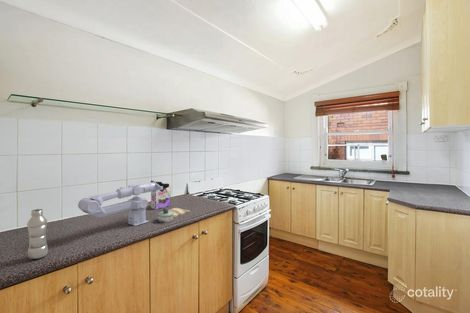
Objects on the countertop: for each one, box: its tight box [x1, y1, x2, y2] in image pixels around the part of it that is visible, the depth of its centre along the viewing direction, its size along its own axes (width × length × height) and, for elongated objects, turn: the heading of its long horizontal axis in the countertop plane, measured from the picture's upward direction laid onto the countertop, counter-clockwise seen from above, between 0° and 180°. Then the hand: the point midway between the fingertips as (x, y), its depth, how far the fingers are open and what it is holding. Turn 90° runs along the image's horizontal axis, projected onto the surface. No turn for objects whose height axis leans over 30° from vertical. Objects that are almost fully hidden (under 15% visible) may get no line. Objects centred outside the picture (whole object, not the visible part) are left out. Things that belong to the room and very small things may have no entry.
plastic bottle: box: [26, 208, 49, 260], centre depth 94 cm, size 6×7×20 cm
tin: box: [157, 215, 174, 224], centre depth 143 cm, size 9×9×4 cm
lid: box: [157, 207, 174, 217], centre depth 143 cm, size 10×10×4 cm
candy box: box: [150, 185, 171, 211], centre depth 173 cm, size 14×6×16 cm, turn 143°
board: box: [168, 207, 191, 218], centre depth 159 cm, size 16×14×1 cm
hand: (165, 184), depth 154 cm, fingers open, 7 cm apart
